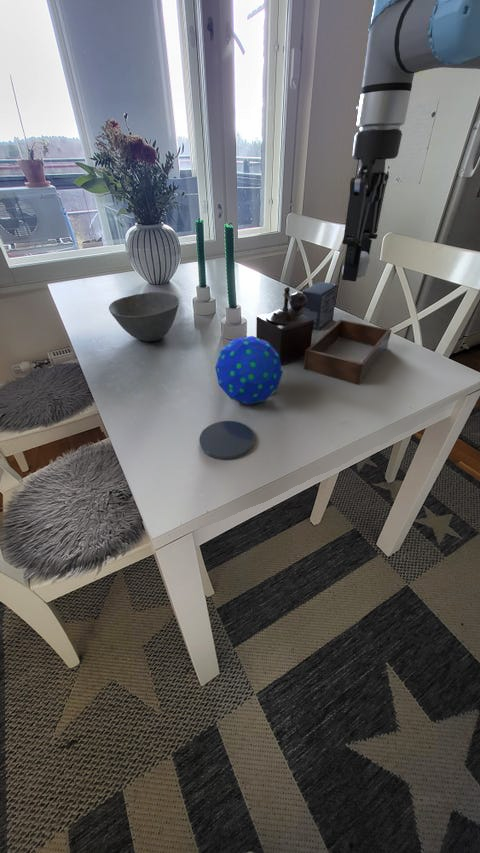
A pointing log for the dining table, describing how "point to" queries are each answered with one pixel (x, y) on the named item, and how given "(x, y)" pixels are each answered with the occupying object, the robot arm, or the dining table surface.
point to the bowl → (146, 314)
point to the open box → (341, 366)
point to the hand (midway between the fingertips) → (354, 276)
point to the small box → (320, 303)
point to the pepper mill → (287, 328)
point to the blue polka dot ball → (248, 370)
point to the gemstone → (362, 264)
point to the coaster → (226, 440)
